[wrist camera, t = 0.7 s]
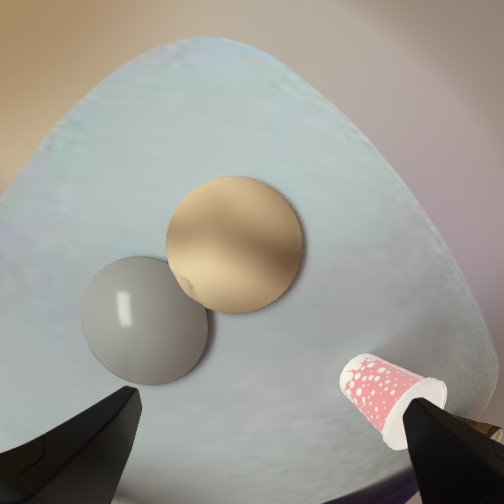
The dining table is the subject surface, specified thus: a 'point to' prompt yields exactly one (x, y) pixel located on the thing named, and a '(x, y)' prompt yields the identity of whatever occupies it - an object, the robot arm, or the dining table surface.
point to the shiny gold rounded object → (234, 245)
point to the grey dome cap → (143, 322)
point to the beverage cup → (387, 394)
